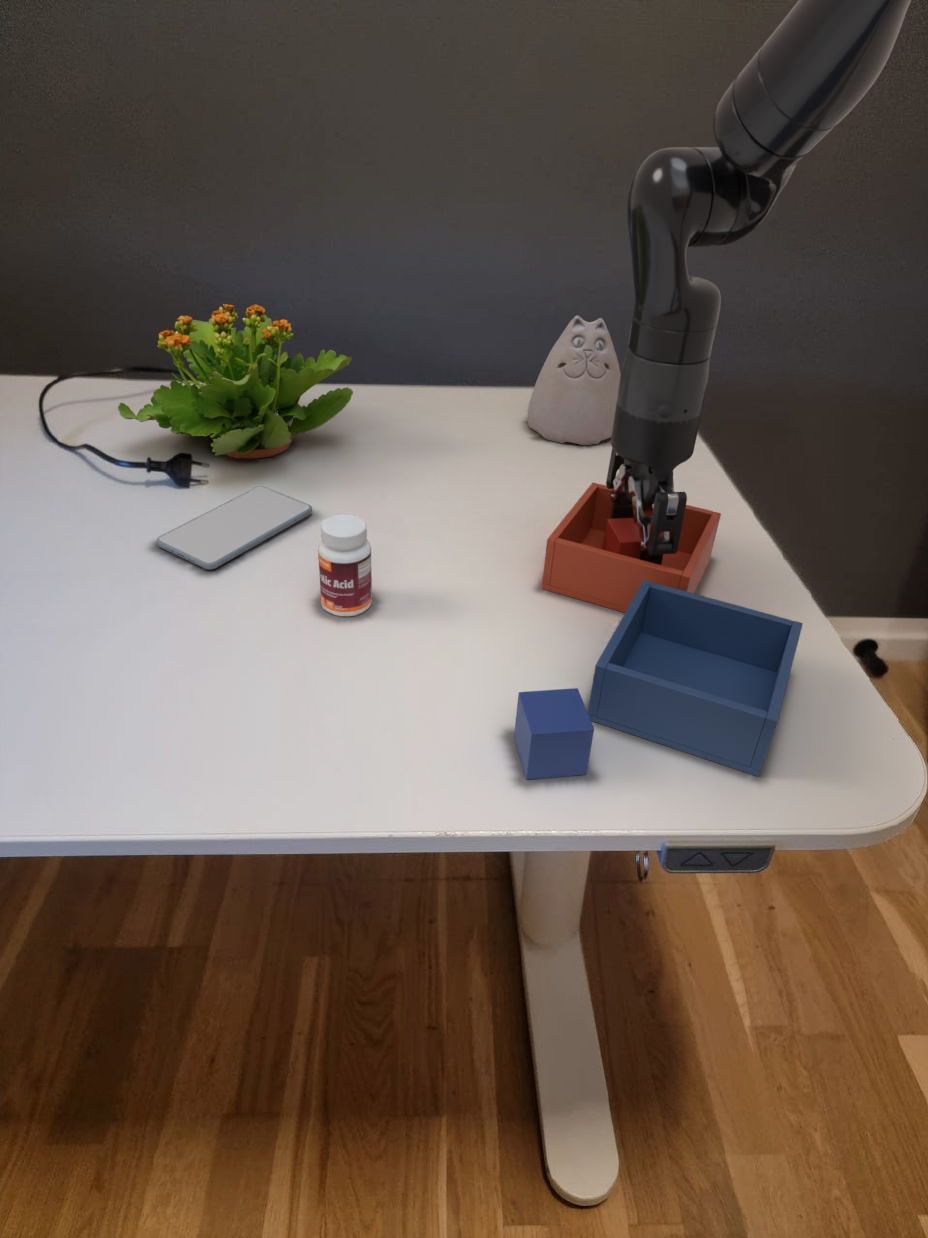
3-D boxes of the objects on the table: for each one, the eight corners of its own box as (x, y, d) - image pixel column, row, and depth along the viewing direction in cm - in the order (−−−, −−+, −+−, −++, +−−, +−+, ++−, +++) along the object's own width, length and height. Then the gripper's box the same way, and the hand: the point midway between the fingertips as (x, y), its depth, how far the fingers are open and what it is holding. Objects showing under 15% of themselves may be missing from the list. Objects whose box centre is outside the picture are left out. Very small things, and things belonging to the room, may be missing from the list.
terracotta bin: (709, 560, 90) (721, 512, 87) (678, 628, 80) (690, 577, 77) (585, 528, 94) (592, 481, 91) (541, 588, 84) (546, 539, 81)
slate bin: (785, 675, 75) (803, 622, 72) (758, 777, 65) (777, 721, 61) (633, 630, 79) (643, 579, 76) (586, 719, 69) (595, 664, 66)
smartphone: (152, 538, 87) (260, 483, 97) (153, 547, 88) (261, 491, 98) (209, 566, 83) (315, 506, 93) (210, 574, 84) (316, 514, 94)
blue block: (571, 732, 68) (578, 687, 65) (586, 775, 64) (594, 729, 61) (513, 736, 67) (518, 691, 64) (526, 780, 63) (531, 734, 61)
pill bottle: (311, 610, 80) (305, 530, 75) (336, 584, 83) (332, 507, 78) (357, 623, 78) (354, 543, 73) (381, 596, 82) (379, 518, 77)
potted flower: (250, 392, 122) (237, 262, 112) (393, 431, 113) (392, 293, 103) (114, 456, 104) (83, 307, 94) (272, 507, 95) (256, 350, 85)
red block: (643, 556, 89) (651, 516, 86) (658, 580, 85) (666, 540, 83) (600, 558, 88) (606, 518, 86) (613, 582, 85) (620, 542, 82)
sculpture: (562, 454, 110) (576, 335, 101) (509, 421, 118) (518, 308, 109) (638, 436, 115) (658, 322, 107) (583, 405, 123) (597, 297, 115)
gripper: (731, 433, 71) (693, 596, 81) (672, 372, 83) (644, 521, 92) (645, 435, 70) (616, 600, 80) (596, 373, 82) (576, 524, 91)
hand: (631, 557), depth 86 cm, fingers open, 8 cm apart
